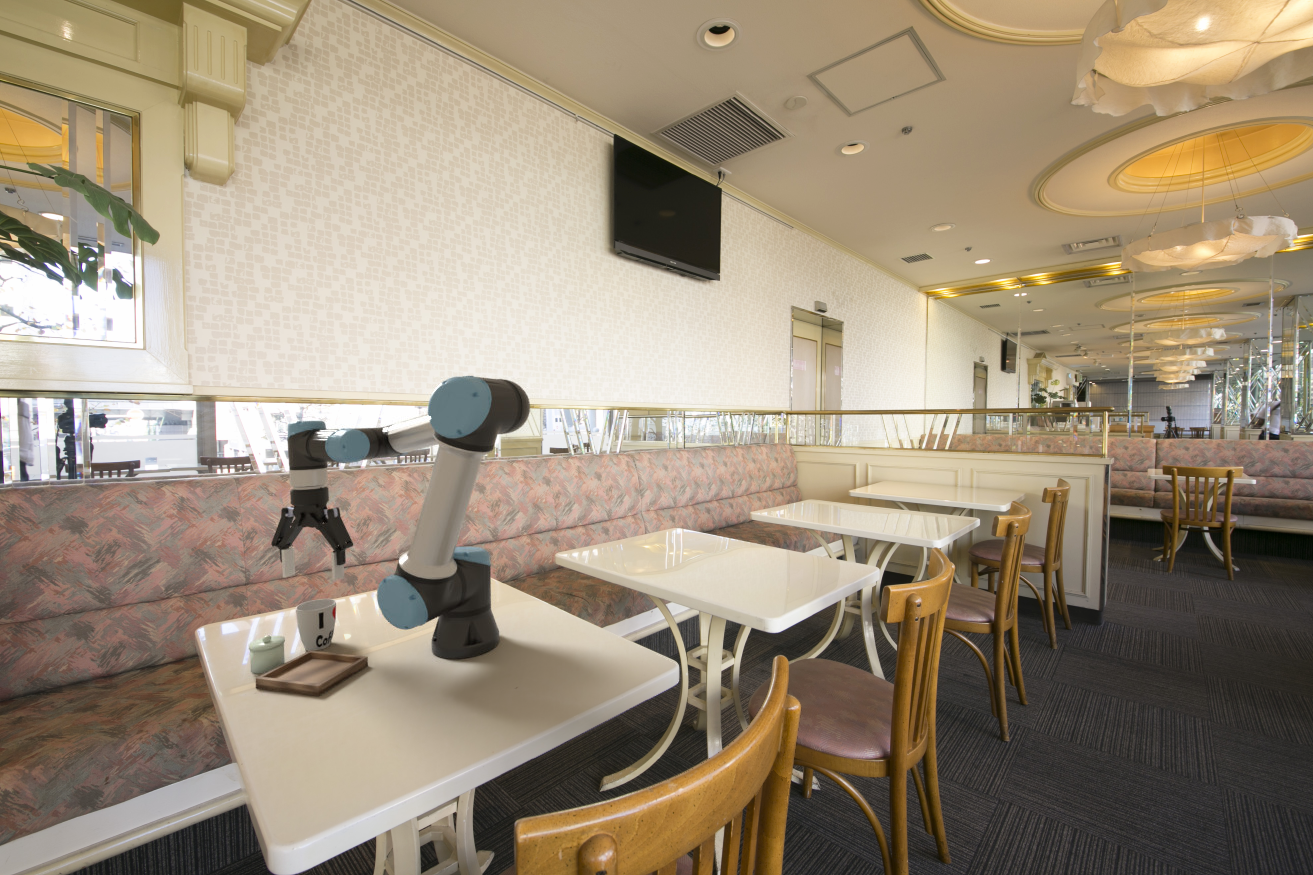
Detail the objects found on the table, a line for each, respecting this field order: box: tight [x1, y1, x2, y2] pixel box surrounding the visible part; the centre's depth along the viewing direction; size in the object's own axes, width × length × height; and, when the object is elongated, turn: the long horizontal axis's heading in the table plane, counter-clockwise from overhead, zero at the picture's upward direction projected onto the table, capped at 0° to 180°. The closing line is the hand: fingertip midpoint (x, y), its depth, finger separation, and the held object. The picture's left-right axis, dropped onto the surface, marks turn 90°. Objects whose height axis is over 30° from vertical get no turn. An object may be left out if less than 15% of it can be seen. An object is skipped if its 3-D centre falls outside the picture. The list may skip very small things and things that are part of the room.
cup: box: [295, 598, 337, 652], centre depth 128 cm, size 8×8×10 cm
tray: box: [255, 650, 369, 697], centre depth 113 cm, size 15×13×2 cm
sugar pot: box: [248, 634, 286, 675], centre depth 118 cm, size 6×6×7 cm
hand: (313, 577), depth 127 cm, fingers open, 13 cm apart
